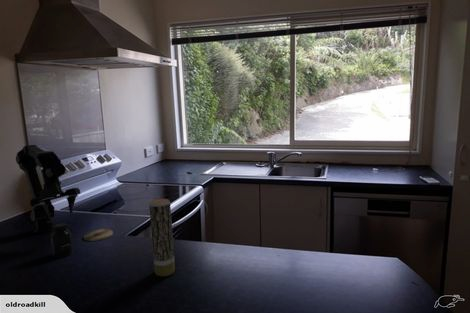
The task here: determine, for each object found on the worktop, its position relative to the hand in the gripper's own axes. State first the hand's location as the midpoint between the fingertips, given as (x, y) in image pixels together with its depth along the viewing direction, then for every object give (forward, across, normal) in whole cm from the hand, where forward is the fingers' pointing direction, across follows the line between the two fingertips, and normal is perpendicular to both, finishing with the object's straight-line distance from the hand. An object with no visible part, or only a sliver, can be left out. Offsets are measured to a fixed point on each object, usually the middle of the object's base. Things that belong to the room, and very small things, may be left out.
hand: (60, 216), depth 142 cm
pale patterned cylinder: (+29, +40, -30) cm, 58 cm away
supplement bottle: (+15, +1, -9) cm, 17 cm away
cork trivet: (+13, +11, +8) cm, 18 cm away
